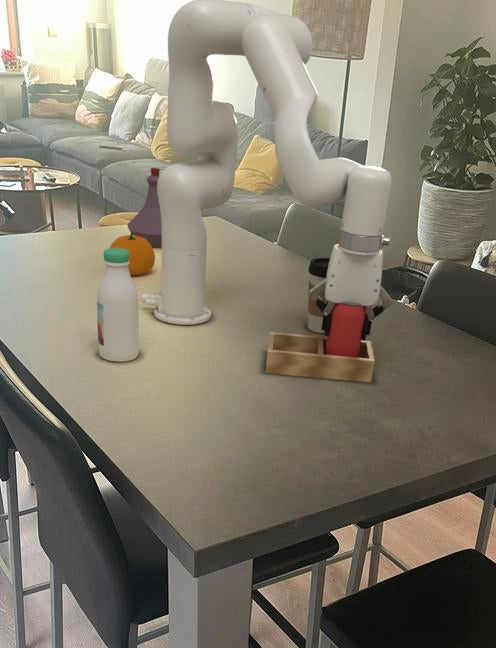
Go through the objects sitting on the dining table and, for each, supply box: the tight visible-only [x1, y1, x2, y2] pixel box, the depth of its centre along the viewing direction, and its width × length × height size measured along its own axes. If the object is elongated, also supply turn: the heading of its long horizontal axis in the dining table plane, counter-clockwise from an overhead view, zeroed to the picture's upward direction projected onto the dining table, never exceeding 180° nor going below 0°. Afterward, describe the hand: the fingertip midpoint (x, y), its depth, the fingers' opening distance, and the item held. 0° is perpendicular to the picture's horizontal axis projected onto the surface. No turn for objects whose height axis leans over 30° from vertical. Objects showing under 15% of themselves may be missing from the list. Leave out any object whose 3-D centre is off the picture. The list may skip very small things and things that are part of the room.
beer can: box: [325, 302, 366, 358], centre depth 149 cm, size 7×7×12 cm
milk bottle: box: [96, 247, 140, 363], centre depth 145 cm, size 8×8×20 cm
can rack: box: [265, 331, 376, 384], centre depth 152 cm, size 20×11×4 cm, turn 87°
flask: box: [127, 167, 162, 248], centre depth 218 cm, size 16×16×20 cm
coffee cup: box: [307, 257, 330, 334], centre depth 168 cm, size 8×8×15 cm
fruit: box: [109, 232, 156, 276], centre depth 195 cm, size 12×12×10 cm
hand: (344, 335), depth 150 cm, fingers closed on beer can, 6 cm apart
